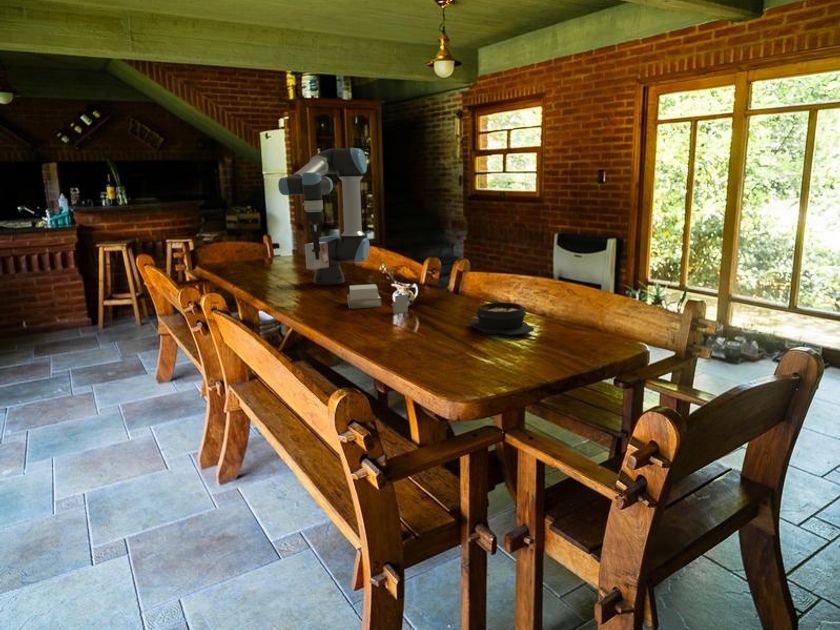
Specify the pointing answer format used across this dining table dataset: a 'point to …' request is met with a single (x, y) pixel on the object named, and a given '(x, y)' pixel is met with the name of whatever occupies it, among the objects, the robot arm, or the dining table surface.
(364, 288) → the tower top slab
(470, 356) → the dining table surface
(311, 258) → the small box
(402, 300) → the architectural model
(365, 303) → the tower base slab
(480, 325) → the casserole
